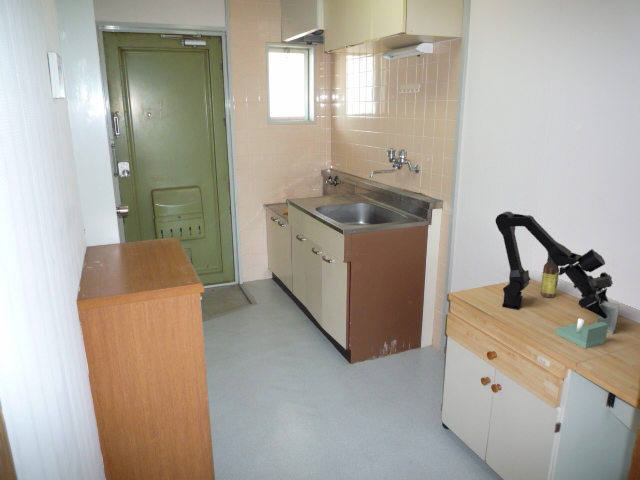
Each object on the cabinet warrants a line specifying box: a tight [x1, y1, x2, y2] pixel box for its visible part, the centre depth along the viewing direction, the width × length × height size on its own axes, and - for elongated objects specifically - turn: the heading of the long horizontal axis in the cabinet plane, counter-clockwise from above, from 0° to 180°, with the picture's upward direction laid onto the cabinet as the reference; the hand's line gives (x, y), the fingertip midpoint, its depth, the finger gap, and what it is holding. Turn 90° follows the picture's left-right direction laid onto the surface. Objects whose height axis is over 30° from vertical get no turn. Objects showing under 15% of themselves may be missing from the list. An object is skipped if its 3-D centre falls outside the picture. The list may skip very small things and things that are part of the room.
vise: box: [554, 317, 608, 349], centre depth 165 cm, size 12×10×7 cm
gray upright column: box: [597, 301, 620, 335], centre depth 171 cm, size 5×5×10 cm
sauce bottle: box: [540, 253, 560, 299], centre depth 202 cm, size 6×6×20 cm
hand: (608, 313), depth 171 cm, fingers open, 9 cm apart
